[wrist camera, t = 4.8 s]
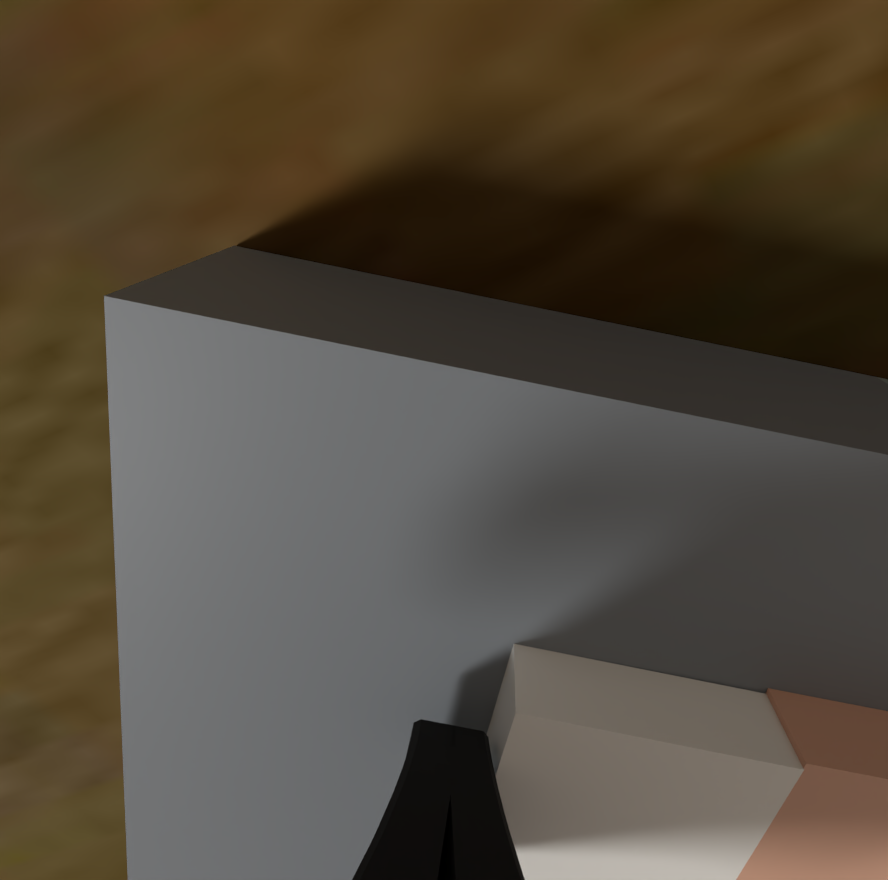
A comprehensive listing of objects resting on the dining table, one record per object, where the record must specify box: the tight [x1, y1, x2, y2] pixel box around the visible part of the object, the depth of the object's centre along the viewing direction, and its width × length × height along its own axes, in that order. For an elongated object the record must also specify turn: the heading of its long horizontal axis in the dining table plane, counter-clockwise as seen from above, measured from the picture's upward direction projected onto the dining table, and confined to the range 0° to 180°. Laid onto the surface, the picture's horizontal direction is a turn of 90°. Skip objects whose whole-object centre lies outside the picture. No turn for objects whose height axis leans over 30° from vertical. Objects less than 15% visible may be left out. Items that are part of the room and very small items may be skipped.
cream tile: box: [487, 644, 804, 880], centre depth 11 cm, size 4×4×2 cm
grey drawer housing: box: [104, 246, 888, 880], centre depth 14 cm, size 14×14×5 cm
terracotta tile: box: [736, 688, 888, 880], centre depth 11 cm, size 4×4×2 cm
